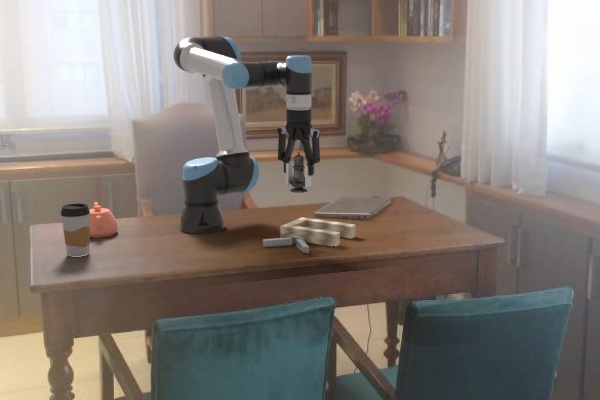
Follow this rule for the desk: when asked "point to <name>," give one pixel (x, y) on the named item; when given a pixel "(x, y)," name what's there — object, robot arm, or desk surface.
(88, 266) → the desk surface
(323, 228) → the bracket
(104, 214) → the teapot
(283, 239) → the v block
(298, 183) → the grey tall rounded piece
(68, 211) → the coffee cup
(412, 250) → the desk surface
